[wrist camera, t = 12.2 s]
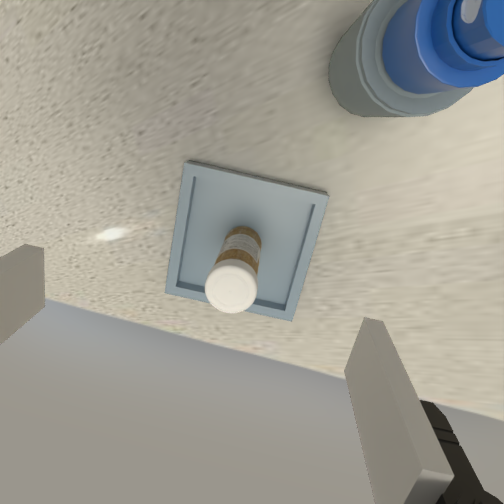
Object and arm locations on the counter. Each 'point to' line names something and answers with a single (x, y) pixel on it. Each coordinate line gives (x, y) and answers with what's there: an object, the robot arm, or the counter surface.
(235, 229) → the sprinkles bottle
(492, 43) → the spray bottle
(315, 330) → the counter surface
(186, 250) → the tray
